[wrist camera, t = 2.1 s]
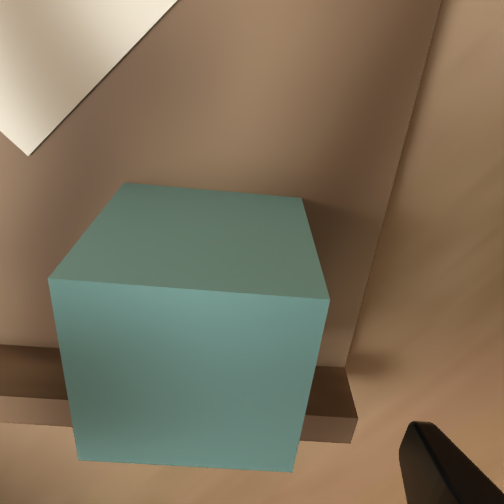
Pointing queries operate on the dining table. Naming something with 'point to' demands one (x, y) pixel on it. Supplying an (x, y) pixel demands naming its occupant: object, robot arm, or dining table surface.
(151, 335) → the teal block
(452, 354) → the dining table surface
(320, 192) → the arena
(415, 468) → the robot arm
